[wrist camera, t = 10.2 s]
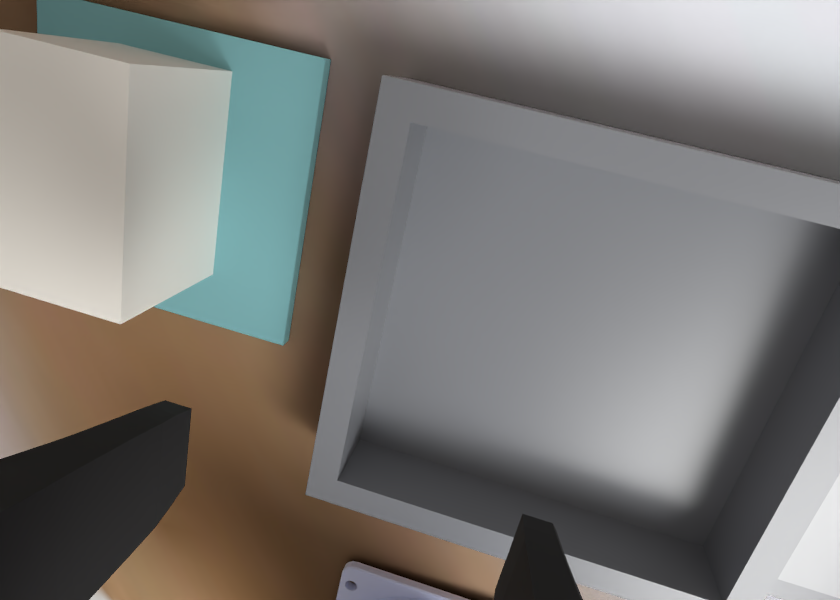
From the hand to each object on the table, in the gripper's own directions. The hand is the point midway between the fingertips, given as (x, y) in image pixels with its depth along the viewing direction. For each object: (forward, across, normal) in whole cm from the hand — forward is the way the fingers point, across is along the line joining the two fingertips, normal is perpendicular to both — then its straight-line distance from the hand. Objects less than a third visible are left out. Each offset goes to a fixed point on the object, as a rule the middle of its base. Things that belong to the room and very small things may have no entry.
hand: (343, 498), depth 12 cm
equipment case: (+9, -13, -1) cm, 16 cm away
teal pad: (+9, +10, -3) cm, 14 cm away
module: (+9, +10, -4) cm, 14 cm away
